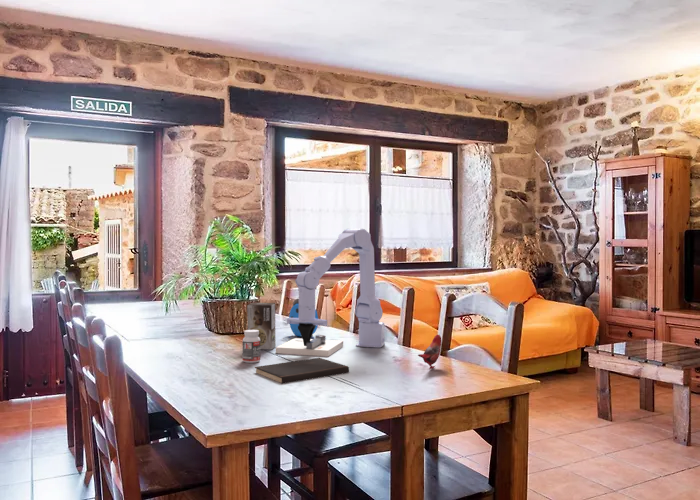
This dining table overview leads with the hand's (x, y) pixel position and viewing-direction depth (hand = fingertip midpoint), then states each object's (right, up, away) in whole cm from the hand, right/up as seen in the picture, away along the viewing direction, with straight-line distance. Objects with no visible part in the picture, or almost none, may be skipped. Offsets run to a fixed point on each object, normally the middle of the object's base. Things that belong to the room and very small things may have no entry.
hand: (306, 345), depth 202 cm
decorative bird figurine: (+39, -4, -24) cm, 46 cm away
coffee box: (-17, -3, +10) cm, 20 cm away
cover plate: (+1, -3, +7) cm, 7 cm away
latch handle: (+3, 0, +4) cm, 5 cm away
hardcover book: (+1, -4, -28) cm, 28 cm away
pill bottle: (-17, -3, -13) cm, 22 cm away
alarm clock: (-4, -2, +35) cm, 35 cm away
